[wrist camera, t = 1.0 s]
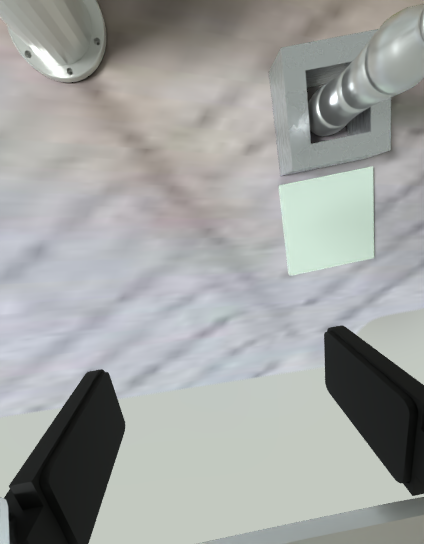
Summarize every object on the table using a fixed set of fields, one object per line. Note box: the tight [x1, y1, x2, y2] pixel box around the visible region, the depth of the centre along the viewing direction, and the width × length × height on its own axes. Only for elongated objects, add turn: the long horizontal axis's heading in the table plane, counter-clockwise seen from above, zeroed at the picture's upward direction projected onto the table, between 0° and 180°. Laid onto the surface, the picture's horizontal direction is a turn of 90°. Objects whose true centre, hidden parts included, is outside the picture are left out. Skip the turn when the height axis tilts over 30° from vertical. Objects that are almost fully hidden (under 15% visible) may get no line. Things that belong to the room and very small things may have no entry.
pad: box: [279, 166, 374, 276], centre depth 39 cm, size 16×16×1 cm
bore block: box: [269, 29, 391, 176], centre depth 33 cm, size 15×15×5 cm
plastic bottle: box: [308, 4, 424, 136], centre depth 26 cm, size 6×7×20 cm
